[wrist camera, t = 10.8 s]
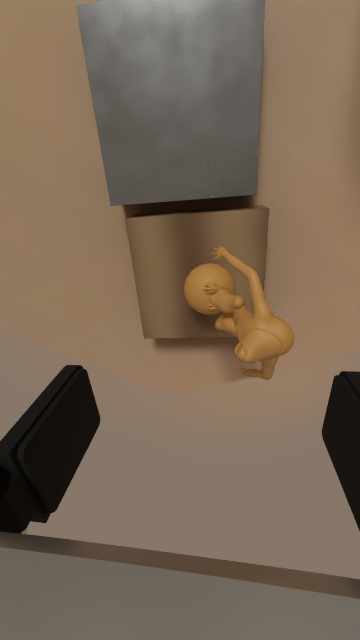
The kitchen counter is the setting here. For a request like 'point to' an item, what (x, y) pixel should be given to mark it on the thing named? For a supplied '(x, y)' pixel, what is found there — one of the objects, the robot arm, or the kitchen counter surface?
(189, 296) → the figurine
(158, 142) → the grey metal stand
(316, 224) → the kitchen counter surface
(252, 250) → the walnut stand
